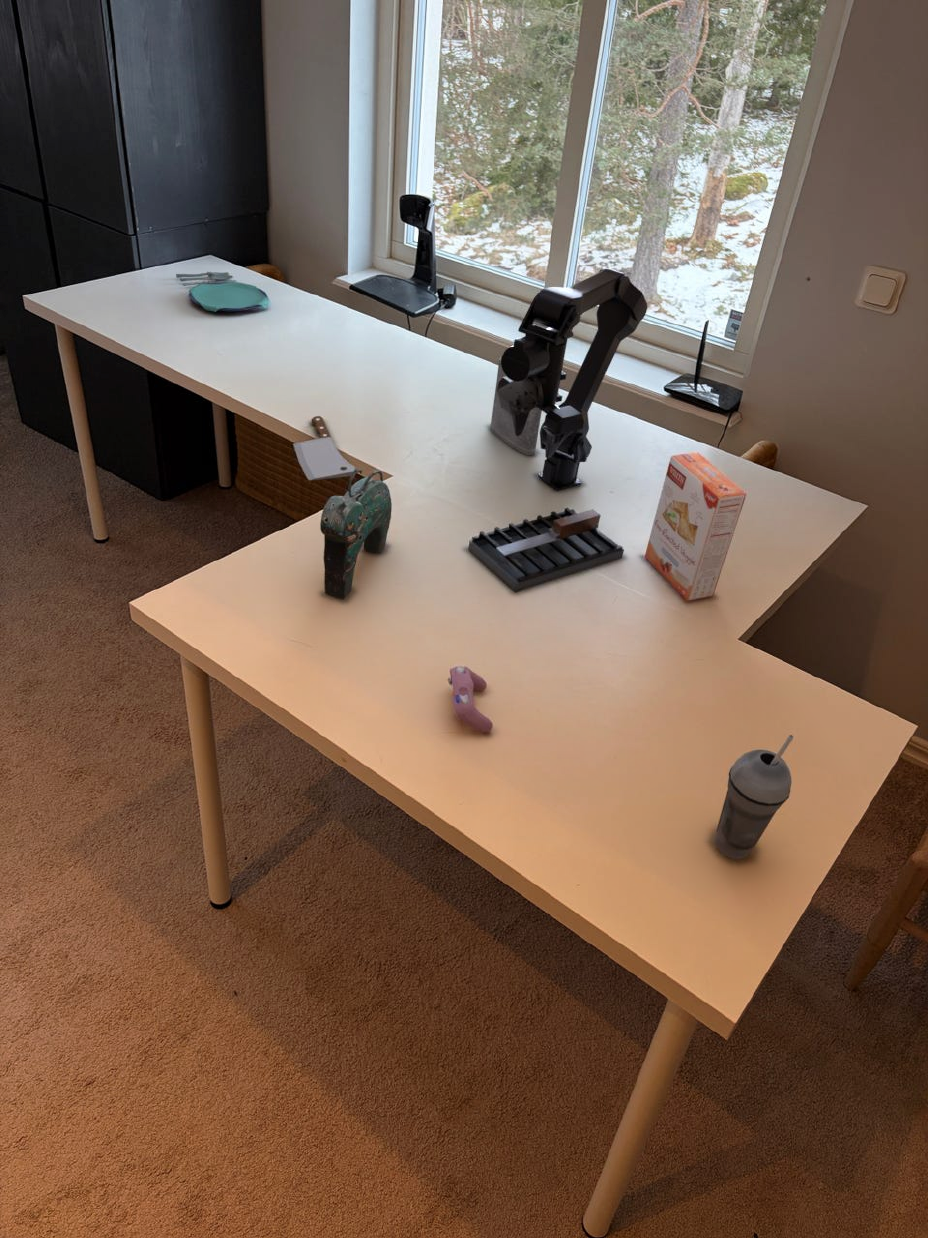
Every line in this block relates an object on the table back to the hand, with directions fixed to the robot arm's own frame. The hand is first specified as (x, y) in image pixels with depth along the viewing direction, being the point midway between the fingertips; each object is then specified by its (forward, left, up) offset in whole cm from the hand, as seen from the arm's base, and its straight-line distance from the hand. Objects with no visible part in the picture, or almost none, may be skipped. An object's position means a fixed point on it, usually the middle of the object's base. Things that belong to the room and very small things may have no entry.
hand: (532, 446), depth 174 cm
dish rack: (+7, +16, -12) cm, 21 cm away
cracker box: (-10, +32, -12) cm, 36 cm away
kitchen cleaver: (+26, -34, -12) cm, 45 cm away
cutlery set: (+11, -119, -12) cm, 120 cm away
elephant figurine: (+40, +6, -12) cm, 42 cm away
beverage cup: (+26, +79, -12) cm, 84 cm away
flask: (-13, -22, -12) cm, 28 cm away
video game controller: (+42, +43, -12) cm, 61 cm away
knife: (+7, +16, -9) cm, 19 cm away
